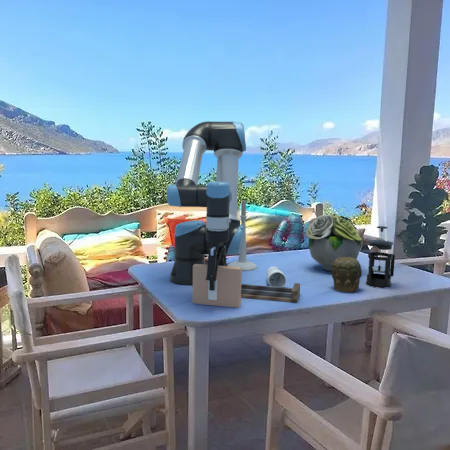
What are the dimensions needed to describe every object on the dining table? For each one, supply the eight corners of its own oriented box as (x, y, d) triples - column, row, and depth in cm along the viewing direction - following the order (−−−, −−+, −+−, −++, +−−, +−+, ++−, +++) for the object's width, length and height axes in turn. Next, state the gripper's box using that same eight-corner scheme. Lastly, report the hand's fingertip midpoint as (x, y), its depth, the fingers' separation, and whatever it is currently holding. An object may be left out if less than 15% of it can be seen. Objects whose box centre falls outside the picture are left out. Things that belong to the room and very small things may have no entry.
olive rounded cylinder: (355, 284, 187) (356, 254, 185) (364, 293, 176) (366, 261, 174) (327, 284, 186) (328, 254, 184) (334, 293, 176) (336, 261, 174)
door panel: (192, 303, 162) (192, 265, 160) (195, 300, 164) (195, 263, 162) (239, 307, 158) (239, 269, 156) (240, 305, 161) (241, 267, 159)
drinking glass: (278, 283, 193) (282, 291, 178) (262, 278, 193) (265, 286, 178) (284, 267, 192) (288, 274, 177) (268, 262, 192) (271, 269, 177)
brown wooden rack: (217, 295, 170) (217, 284, 170) (224, 287, 180) (224, 277, 179) (297, 302, 164) (297, 291, 163) (299, 294, 173) (300, 283, 173)
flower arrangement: (292, 268, 211) (294, 213, 207) (327, 260, 227) (329, 209, 224) (340, 280, 193) (343, 220, 189) (374, 270, 209) (377, 215, 205)
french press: (374, 289, 181) (378, 229, 178) (359, 282, 190) (362, 225, 186) (399, 286, 185) (404, 227, 182) (383, 280, 194) (387, 223, 190)
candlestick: (256, 264, 218) (257, 198, 213) (257, 271, 205) (259, 201, 200) (228, 263, 218) (229, 197, 213) (227, 270, 205) (228, 200, 201)
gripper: (220, 235, 145) (219, 306, 149) (236, 224, 167) (235, 286, 171) (196, 234, 147) (196, 304, 151) (215, 223, 169) (214, 284, 172)
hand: (216, 294), depth 161 cm, fingers open, 10 cm apart
